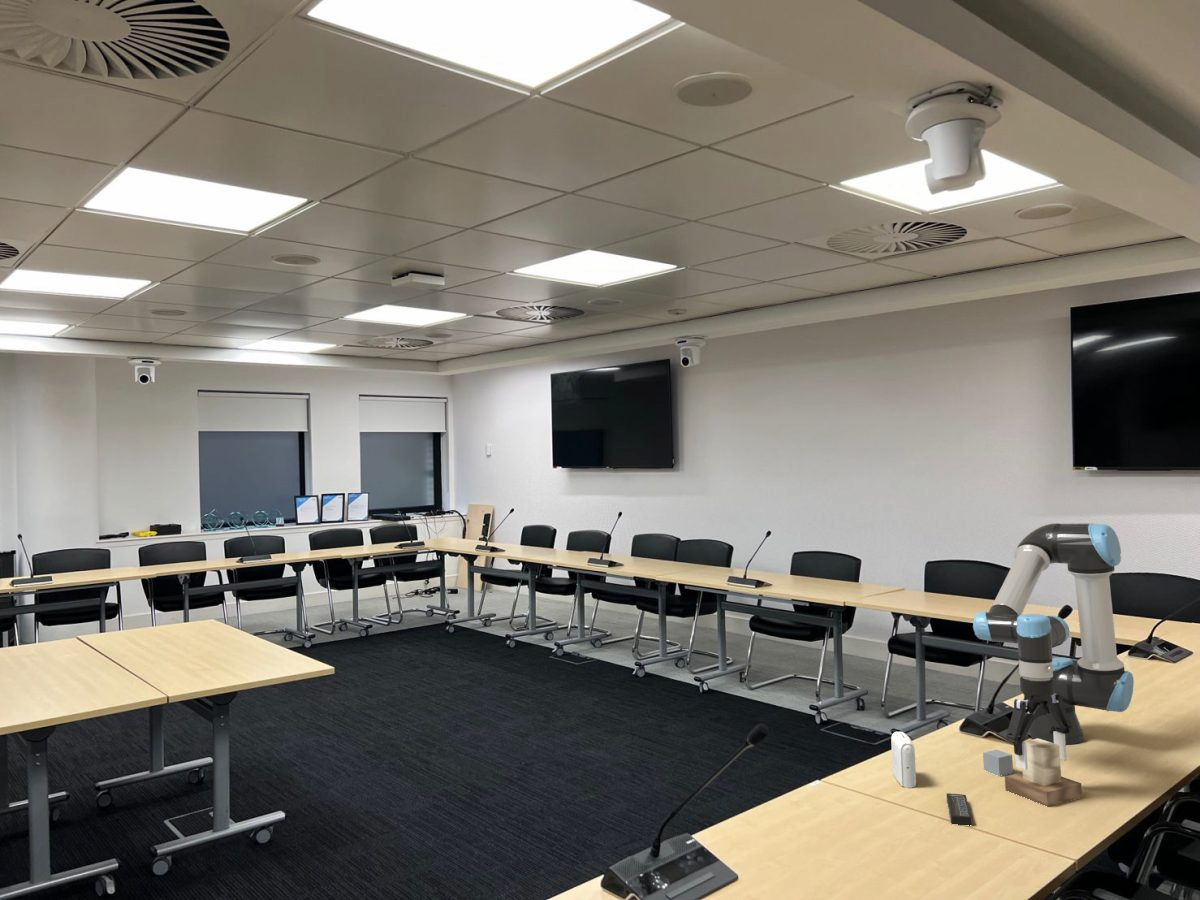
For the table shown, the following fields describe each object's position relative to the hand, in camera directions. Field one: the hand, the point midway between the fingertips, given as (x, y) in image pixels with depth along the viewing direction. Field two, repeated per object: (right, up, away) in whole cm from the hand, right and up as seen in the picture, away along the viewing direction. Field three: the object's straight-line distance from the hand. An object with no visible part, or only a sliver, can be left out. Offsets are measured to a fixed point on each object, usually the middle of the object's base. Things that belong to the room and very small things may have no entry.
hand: (1041, 763), depth 206 cm
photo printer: (-30, -9, +12) cm, 33 cm away
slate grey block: (-3, -8, +16) cm, 18 cm away
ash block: (0, -4, 0) cm, 4 cm away
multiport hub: (-25, -9, -10) cm, 28 cm away
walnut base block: (0, -8, 0) cm, 8 cm away
